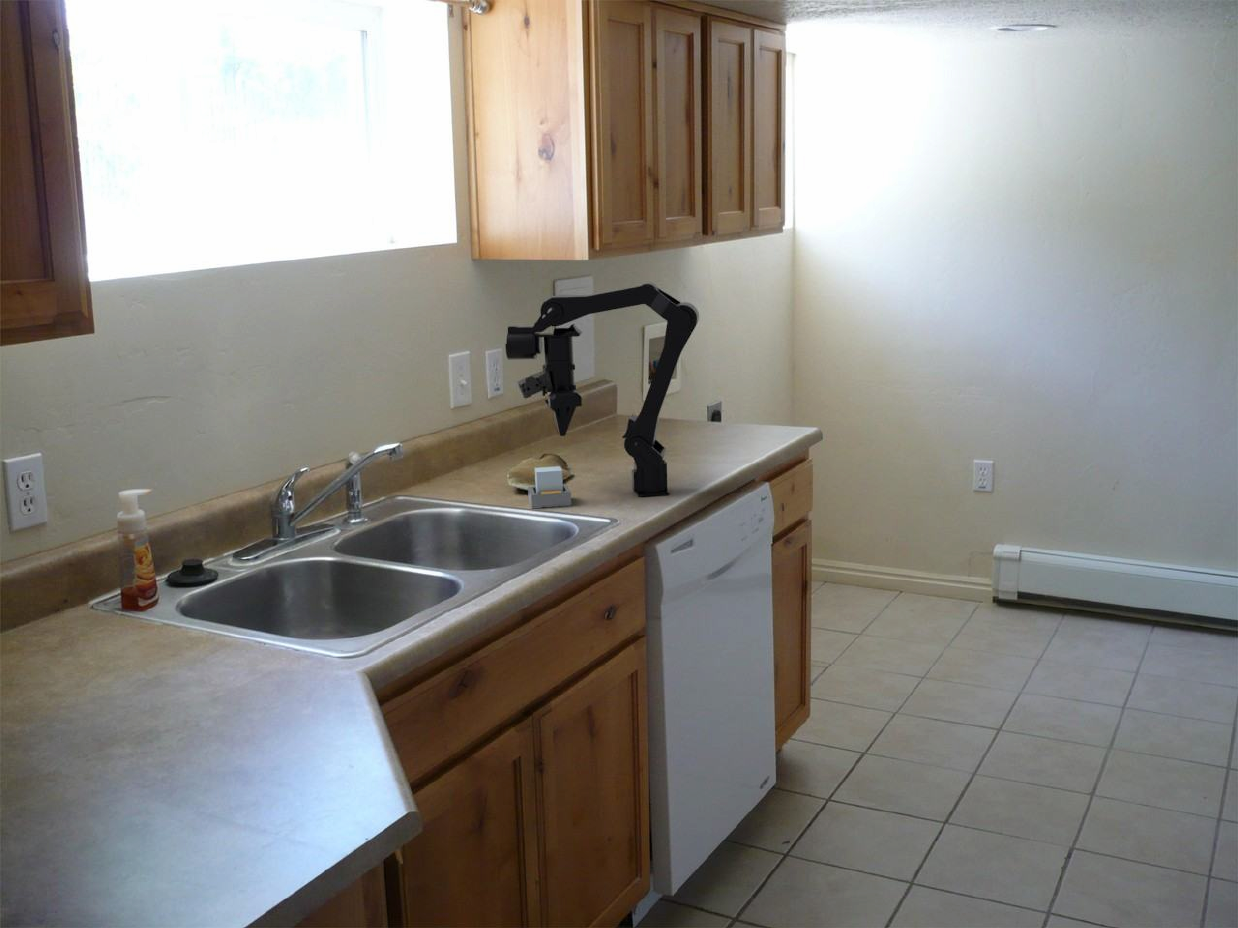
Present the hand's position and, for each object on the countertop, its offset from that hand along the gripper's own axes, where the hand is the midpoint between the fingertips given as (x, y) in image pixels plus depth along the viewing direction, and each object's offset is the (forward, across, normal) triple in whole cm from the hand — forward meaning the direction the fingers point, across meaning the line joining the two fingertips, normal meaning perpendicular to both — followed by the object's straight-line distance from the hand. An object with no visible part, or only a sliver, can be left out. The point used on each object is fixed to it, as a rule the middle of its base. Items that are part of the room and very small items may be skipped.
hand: (562, 435), depth 247 cm
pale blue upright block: (+11, +8, -4) cm, 14 cm away
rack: (+12, +8, -4) cm, 15 cm away
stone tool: (+12, -12, -4) cm, 18 cm away
